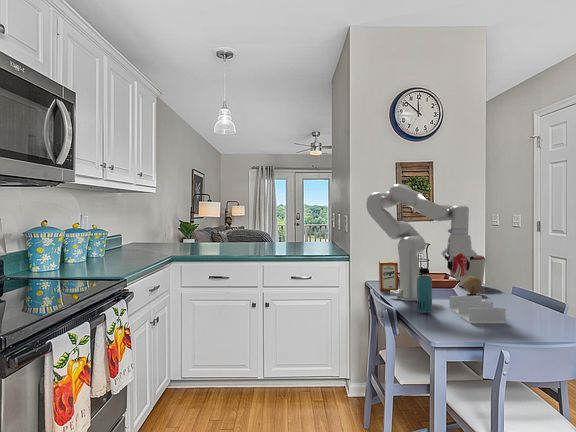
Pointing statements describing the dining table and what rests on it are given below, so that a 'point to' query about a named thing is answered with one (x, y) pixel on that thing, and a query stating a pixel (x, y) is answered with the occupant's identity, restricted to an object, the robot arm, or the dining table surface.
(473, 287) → the natural sponge
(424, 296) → the beverage bottle
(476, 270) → the canister
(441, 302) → the dining table surface
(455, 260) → the soda can
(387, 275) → the baking soda box
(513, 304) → the dining table surface
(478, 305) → the white holder
